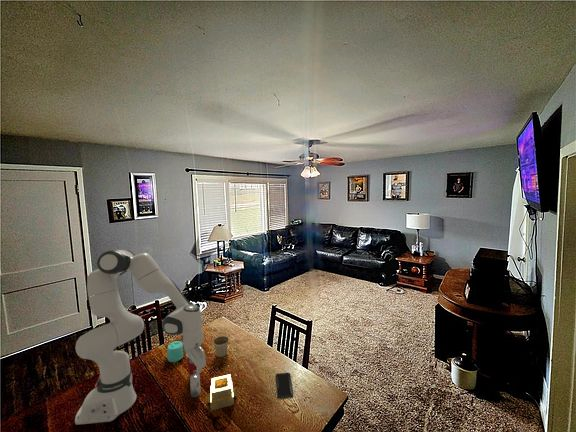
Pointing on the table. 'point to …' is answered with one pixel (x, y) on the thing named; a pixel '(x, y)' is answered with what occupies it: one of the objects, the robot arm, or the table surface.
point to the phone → (283, 385)
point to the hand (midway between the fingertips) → (195, 367)
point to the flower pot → (221, 345)
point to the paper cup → (191, 367)
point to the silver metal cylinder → (195, 385)
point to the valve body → (221, 392)
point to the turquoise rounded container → (175, 351)
